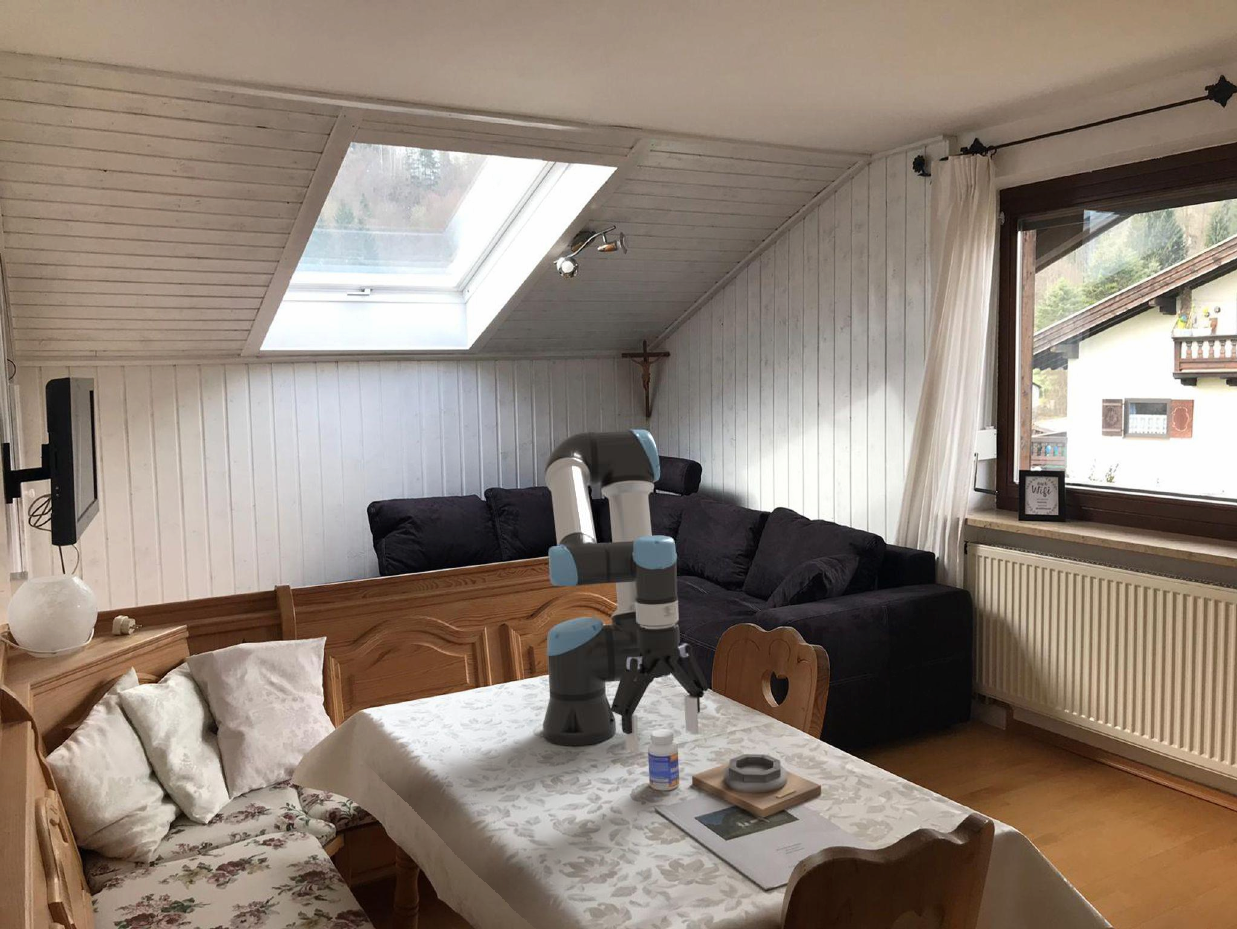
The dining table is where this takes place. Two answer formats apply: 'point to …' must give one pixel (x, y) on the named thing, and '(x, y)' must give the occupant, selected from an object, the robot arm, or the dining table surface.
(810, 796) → the hub board
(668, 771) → the pill bottle
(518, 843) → the dining table surface
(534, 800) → the dining table surface
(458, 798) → the dining table surface
